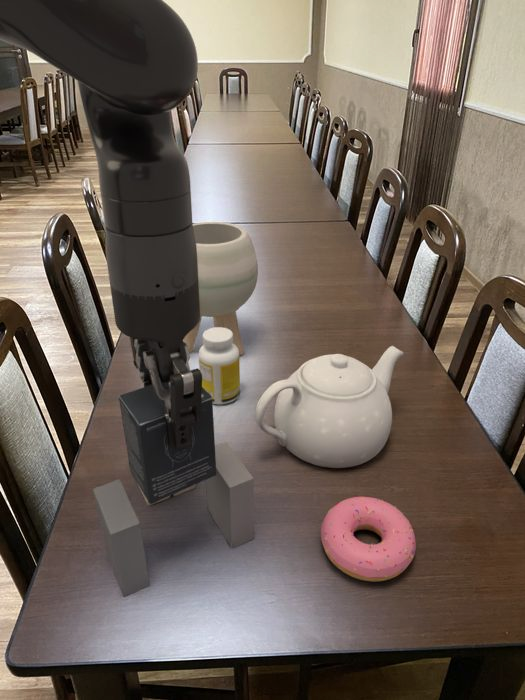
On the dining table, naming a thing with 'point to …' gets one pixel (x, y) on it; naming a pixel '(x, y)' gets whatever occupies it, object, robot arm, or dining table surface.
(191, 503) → the dining table surface
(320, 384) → the teapot
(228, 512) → the grey books
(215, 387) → the pill bottle
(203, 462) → the box
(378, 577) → the doughnut
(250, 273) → the planter
